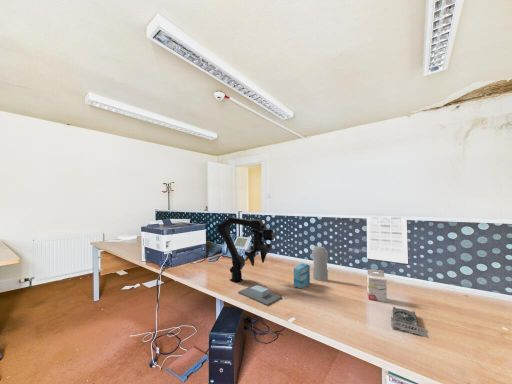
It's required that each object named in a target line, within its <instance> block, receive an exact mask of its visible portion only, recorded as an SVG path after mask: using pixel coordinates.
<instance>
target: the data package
mask: <svg viewBox="0 0 512 384" xmlns="http://www.w3.org/2000/svg"><path fill="white" fill-rule="evenodd" d="M310 267H311V265H309V264H306V263H301V264H299V265H296V266H294V267H293V286H294V287H295V288H298V289H303V288H305V287H307V286H308V285H309V284H310V282H311V268H310Z"/></svg>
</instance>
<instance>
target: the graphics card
mask: <svg viewBox="0 0 512 384" xmlns="http://www.w3.org/2000/svg"><path fill="white" fill-rule="evenodd" d="M391 312H392V316H391V317H390V318H391V319H390V321H391V324H390V325H391V326H390V327H391V328H392V330H398V331H402V332H403V333H410V334H412V335H414V336H415V335H416V336H418V337H419V336H421V337H425V338H429V335H428V333H429V330H428V329H426V328H423V327H420V326H419V323H418V318H417V315H416V311H414V310H411V311H410V310H407V309H404V308H398V307H396V306H393V307H392V311H391ZM426 333H427V334H426Z"/></svg>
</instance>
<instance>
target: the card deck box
mask: <svg viewBox="0 0 512 384" xmlns="http://www.w3.org/2000/svg"><path fill="white" fill-rule="evenodd" d="M253 286H254V287H251V288H250V293H251V294H253V295H256V296H258V297H261V298H263V297H265V296H267V295H268V291H269V288H266V287H264V286H261V285H258V284H256V285H253Z"/></svg>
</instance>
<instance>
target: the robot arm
mask: <svg viewBox="0 0 512 384" xmlns="http://www.w3.org/2000/svg"><path fill="white" fill-rule="evenodd" d="M233 224H234V225H239V226H247V227H249V228H250V229H251V230H250V231H249V232H250V233H252V234H253V240H252V241H251V243H252V244H253V247H252V248H251V249H246V250H245V251H244V255H240V254H239V252H238V250H237V247H236V245H235V243H234V240H233V238H232V236H231V230H230V228H231V226H233ZM216 231H217V232H218V234H219V235H220V236H221V237H222V238H223V240H224V242H225V244H226V247H227V249H228V252H229V253H230V256H231V263H232V266H231V268H229V273H230V274H231V278H230V279H229V281H230V282H233V283H239V282H242V281H244V278H242V277H243V276H242V270H243V268H244V267H245V265H246V260H245V258H244V256H246V257H247V259H248V260H249V262H250V264H251V266H252V267H254V266H255V258H256V255H257V253H260V258H261V259H260V260H261V263H265V260H266V257H267V255H268V254H269V253H270V252H272V251H271V250H272V244H270V243H265V241H272V242H274V241H275V232H274V229H272V228H271V229H267V228H266V226H265V224H264V222H263V220H262V219H246V218H239V217H234V216H231V217H228V218H227V219H226V220H224V221H223V222H222V223H219V224H217V226H216Z"/></svg>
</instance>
